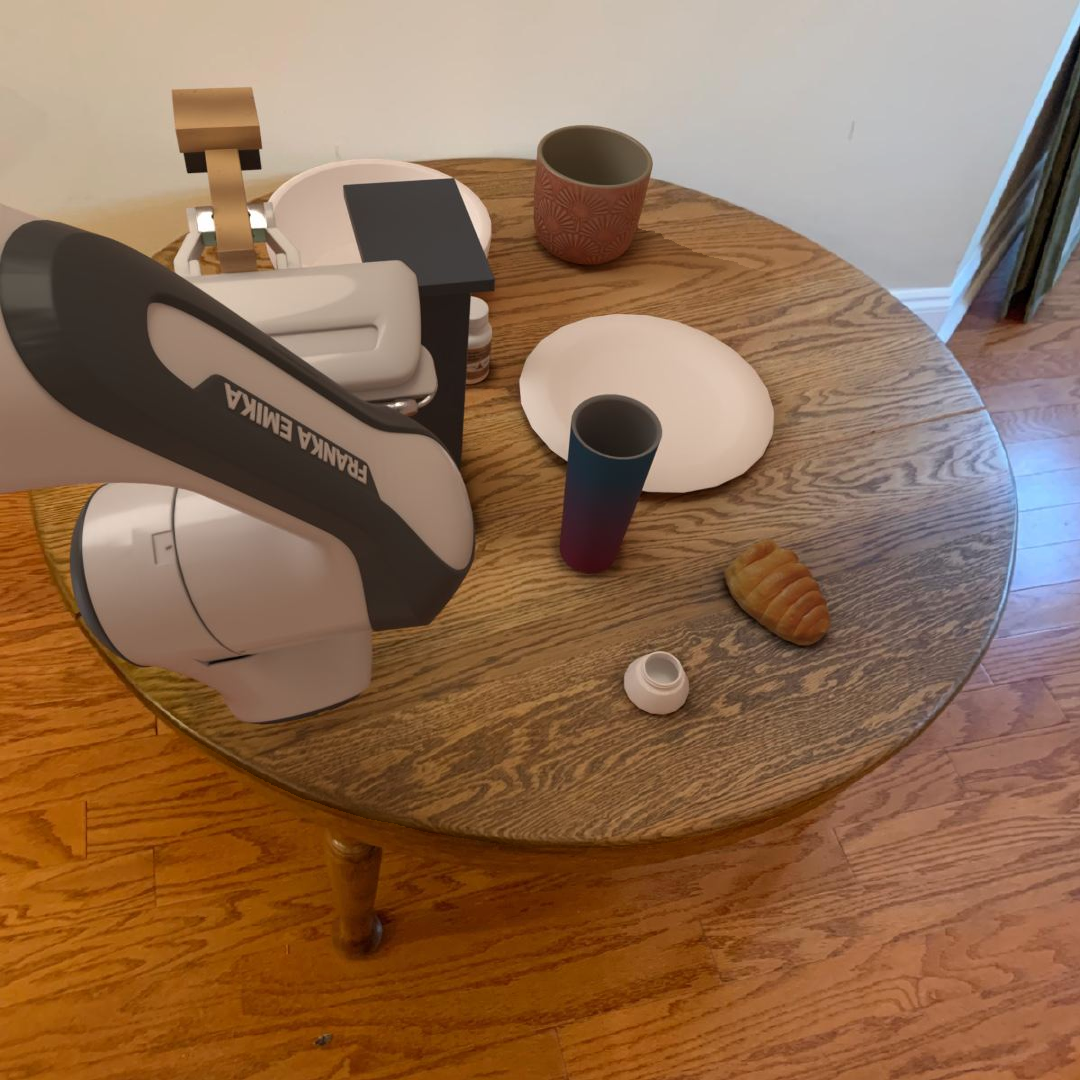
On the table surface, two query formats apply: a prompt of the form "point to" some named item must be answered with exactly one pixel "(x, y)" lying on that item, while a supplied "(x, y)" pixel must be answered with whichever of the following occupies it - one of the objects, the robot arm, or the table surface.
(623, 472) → the cup
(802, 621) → the pastry
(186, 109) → the brush
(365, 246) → the stand
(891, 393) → the table surface
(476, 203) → the bowl
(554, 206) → the planter
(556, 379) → the plate
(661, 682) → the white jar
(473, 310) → the pill bottle
